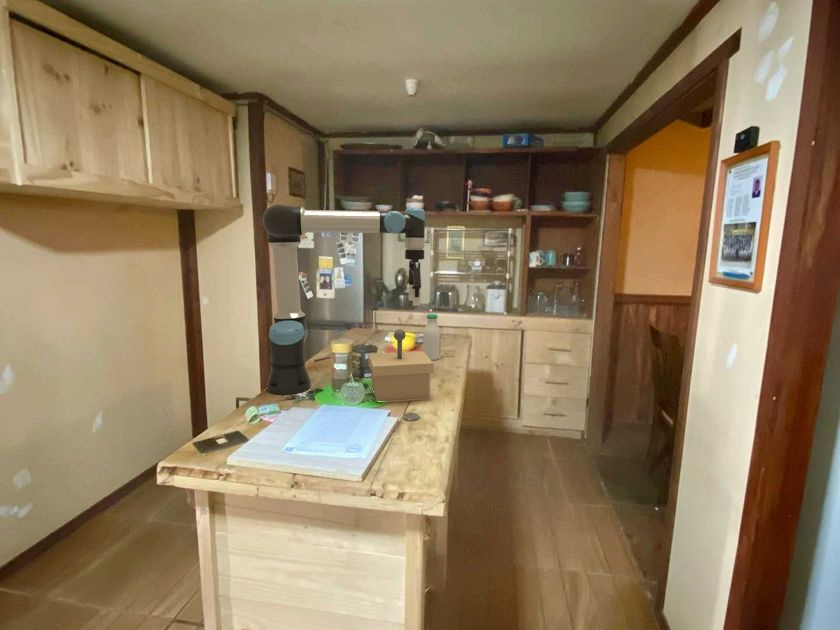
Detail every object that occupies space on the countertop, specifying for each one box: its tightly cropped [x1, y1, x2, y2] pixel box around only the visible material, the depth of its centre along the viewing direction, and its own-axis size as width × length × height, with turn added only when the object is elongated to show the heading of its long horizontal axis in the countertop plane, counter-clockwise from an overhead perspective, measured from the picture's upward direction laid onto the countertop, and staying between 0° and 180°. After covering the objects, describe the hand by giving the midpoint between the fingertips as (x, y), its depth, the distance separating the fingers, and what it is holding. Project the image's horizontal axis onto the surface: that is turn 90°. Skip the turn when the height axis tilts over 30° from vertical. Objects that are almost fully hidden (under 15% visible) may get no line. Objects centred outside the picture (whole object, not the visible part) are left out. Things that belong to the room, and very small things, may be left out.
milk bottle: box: [422, 313, 441, 361], centre depth 198 cm, size 8×8×20 cm
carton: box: [371, 373, 431, 403], centre depth 154 cm, size 18×14×12 cm
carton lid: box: [367, 328, 434, 376], centre depth 152 cm, size 20×16×14 cm
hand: (414, 303), depth 177 cm, fingers open, 13 cm apart
